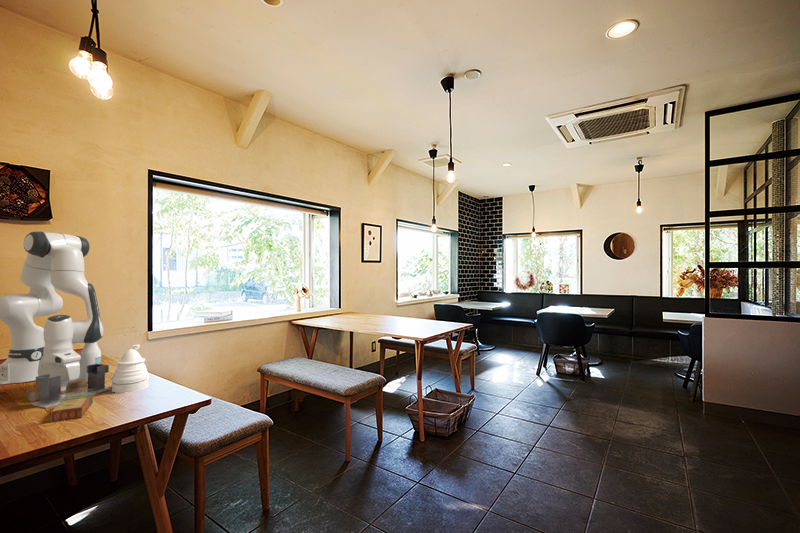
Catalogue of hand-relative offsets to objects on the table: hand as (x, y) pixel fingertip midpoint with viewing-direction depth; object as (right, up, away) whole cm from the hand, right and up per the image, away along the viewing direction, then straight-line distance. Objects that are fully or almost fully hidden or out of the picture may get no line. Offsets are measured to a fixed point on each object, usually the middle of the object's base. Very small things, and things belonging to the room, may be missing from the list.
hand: (57, 389), depth 149 cm
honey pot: (+23, -2, +8) cm, 25 cm away
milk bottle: (-1, -2, +17) cm, 18 cm away
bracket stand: (+9, -2, -3) cm, 10 cm away
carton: (+22, -2, -18) cm, 29 cm away
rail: (0, -2, 0) cm, 2 cm away
